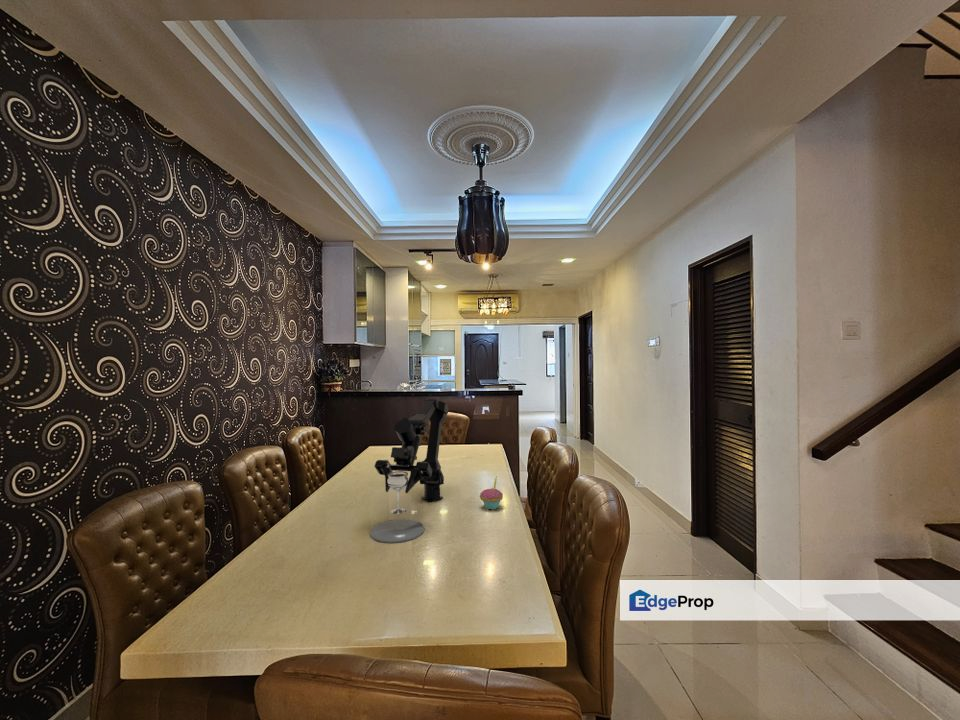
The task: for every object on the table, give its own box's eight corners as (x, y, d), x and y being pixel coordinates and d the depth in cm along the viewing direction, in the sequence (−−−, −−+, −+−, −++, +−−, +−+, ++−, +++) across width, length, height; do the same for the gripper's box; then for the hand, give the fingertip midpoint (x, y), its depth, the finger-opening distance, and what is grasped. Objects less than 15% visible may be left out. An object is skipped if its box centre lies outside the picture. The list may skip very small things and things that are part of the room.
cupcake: (503, 504, 160) (503, 473, 160) (502, 512, 151) (502, 479, 151) (481, 504, 160) (480, 472, 161) (478, 512, 152) (478, 479, 152)
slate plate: (361, 531, 136) (361, 528, 136) (406, 517, 147) (406, 515, 147) (387, 548, 123) (387, 545, 123) (434, 532, 134) (434, 529, 134)
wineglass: (397, 516, 130) (396, 478, 130) (383, 512, 134) (382, 474, 134) (413, 510, 136) (412, 473, 136) (399, 505, 140) (398, 470, 140)
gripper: (376, 436, 141) (360, 477, 130) (428, 437, 137) (416, 481, 126) (387, 453, 149) (372, 494, 138) (436, 456, 144) (426, 498, 134)
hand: (396, 492), depth 134 cm, fingers closed on wineglass, 6 cm apart
